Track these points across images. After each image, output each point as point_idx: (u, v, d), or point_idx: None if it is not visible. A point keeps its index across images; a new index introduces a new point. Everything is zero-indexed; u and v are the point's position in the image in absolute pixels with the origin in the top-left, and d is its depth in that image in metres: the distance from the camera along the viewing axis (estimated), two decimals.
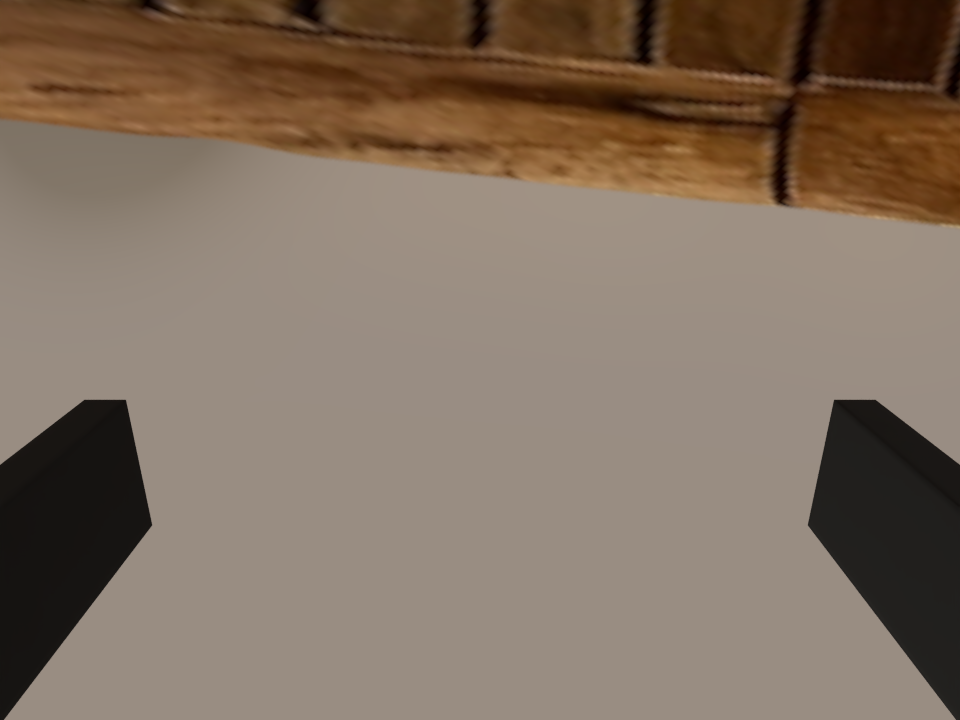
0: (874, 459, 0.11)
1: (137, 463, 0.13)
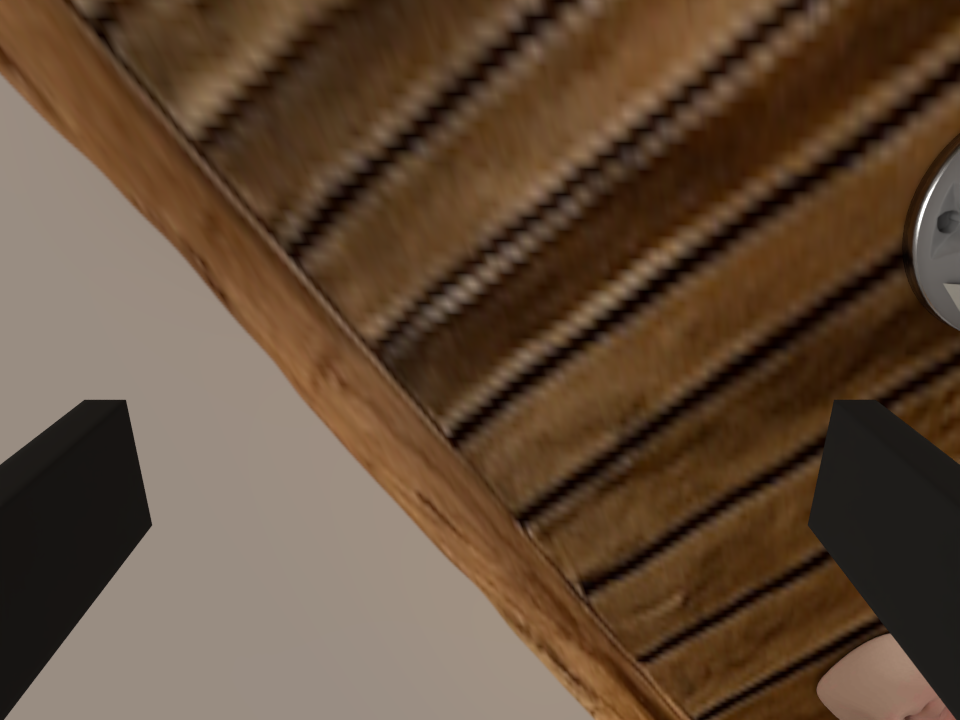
0: (874, 459, 0.11)
1: (136, 463, 0.13)
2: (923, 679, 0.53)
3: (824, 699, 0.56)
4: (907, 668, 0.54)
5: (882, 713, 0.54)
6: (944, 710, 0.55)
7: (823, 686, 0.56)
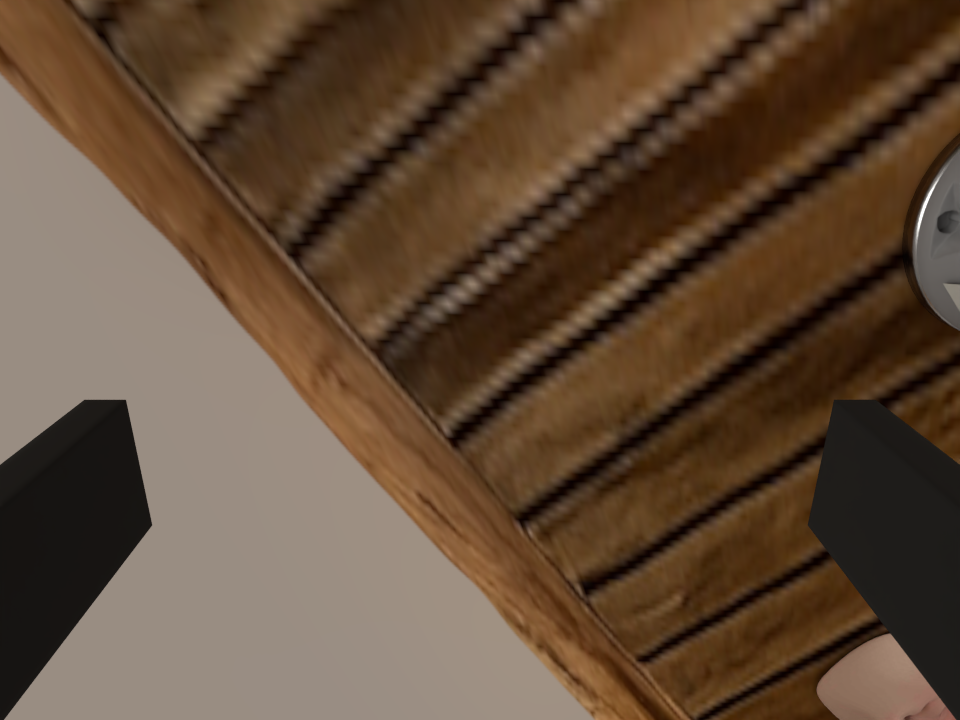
0: (874, 459, 0.11)
1: (136, 463, 0.13)
2: (923, 679, 0.53)
3: (824, 699, 0.56)
4: (907, 668, 0.54)
5: (882, 713, 0.54)
6: (944, 710, 0.55)
7: (823, 686, 0.56)
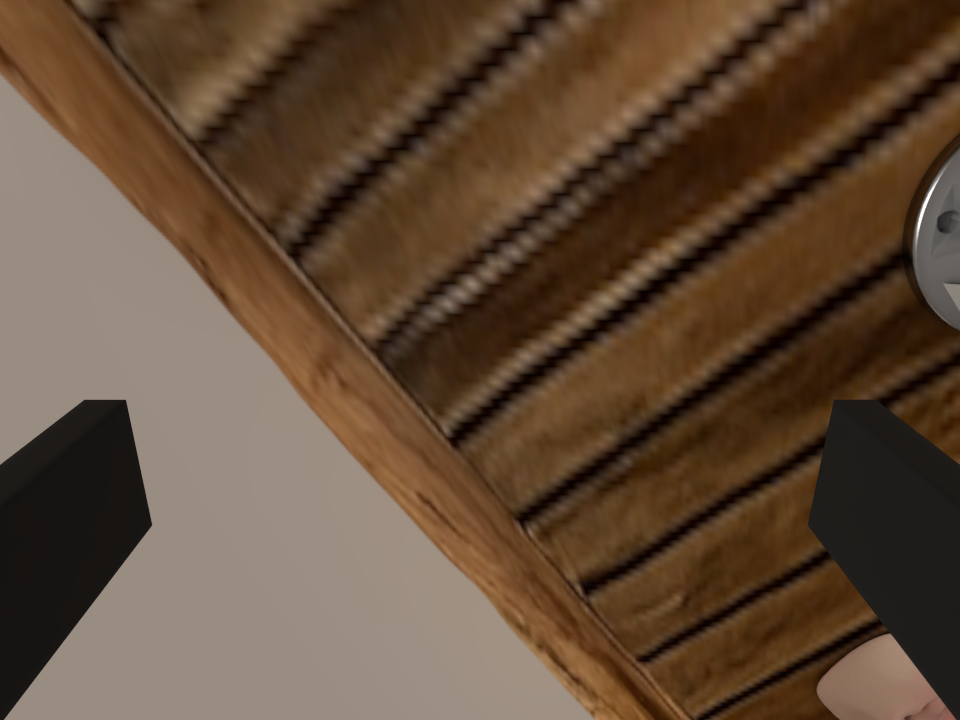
0: (874, 459, 0.11)
1: (136, 463, 0.13)
2: (923, 679, 0.53)
3: (824, 699, 0.56)
4: (907, 668, 0.54)
5: (882, 713, 0.54)
6: (944, 710, 0.55)
7: (823, 686, 0.56)
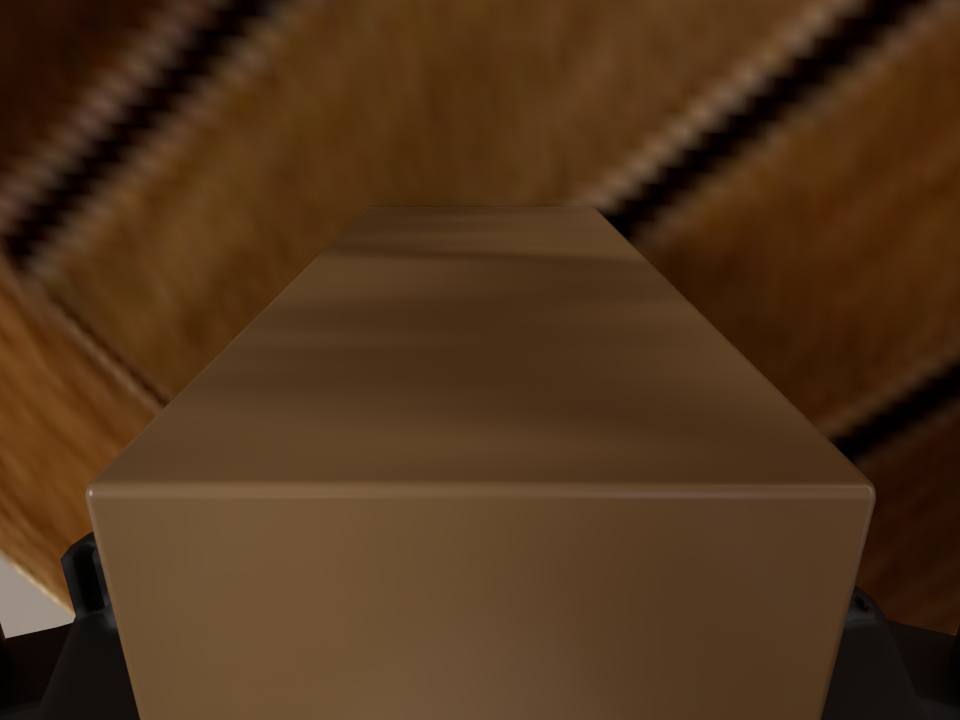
0: None
1: None
2: None
3: None
4: None
5: None
6: None
7: None
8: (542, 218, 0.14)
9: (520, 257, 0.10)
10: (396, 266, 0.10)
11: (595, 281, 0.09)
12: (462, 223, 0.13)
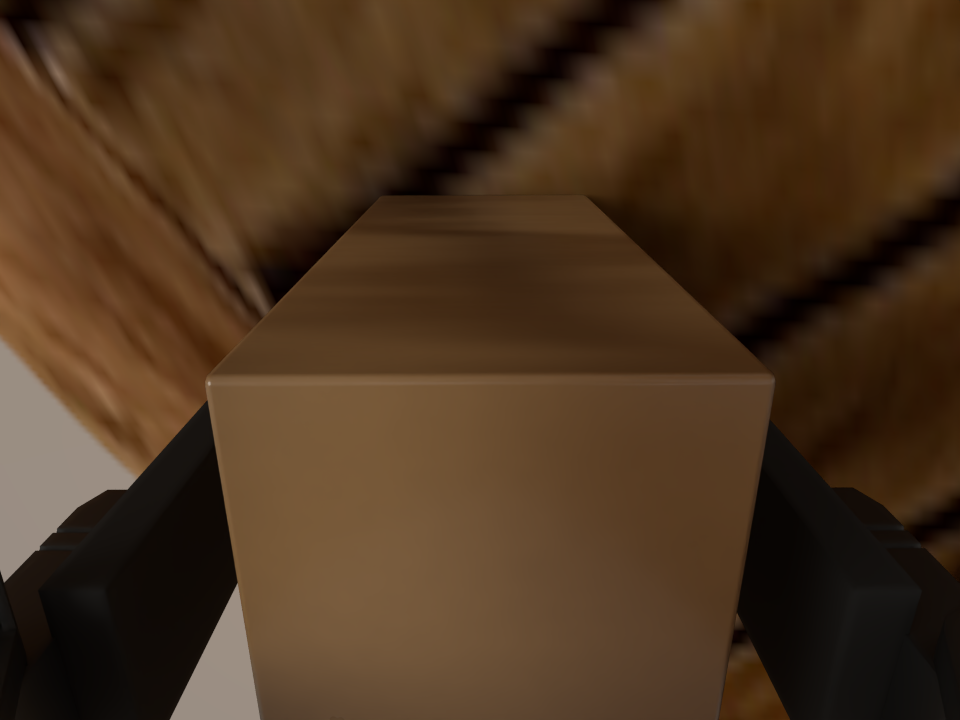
0: None
1: None
2: None
3: None
4: None
5: None
6: None
7: None
8: (538, 204, 0.15)
9: (520, 234, 0.12)
10: (413, 241, 0.11)
11: (582, 251, 0.11)
12: (467, 208, 0.15)
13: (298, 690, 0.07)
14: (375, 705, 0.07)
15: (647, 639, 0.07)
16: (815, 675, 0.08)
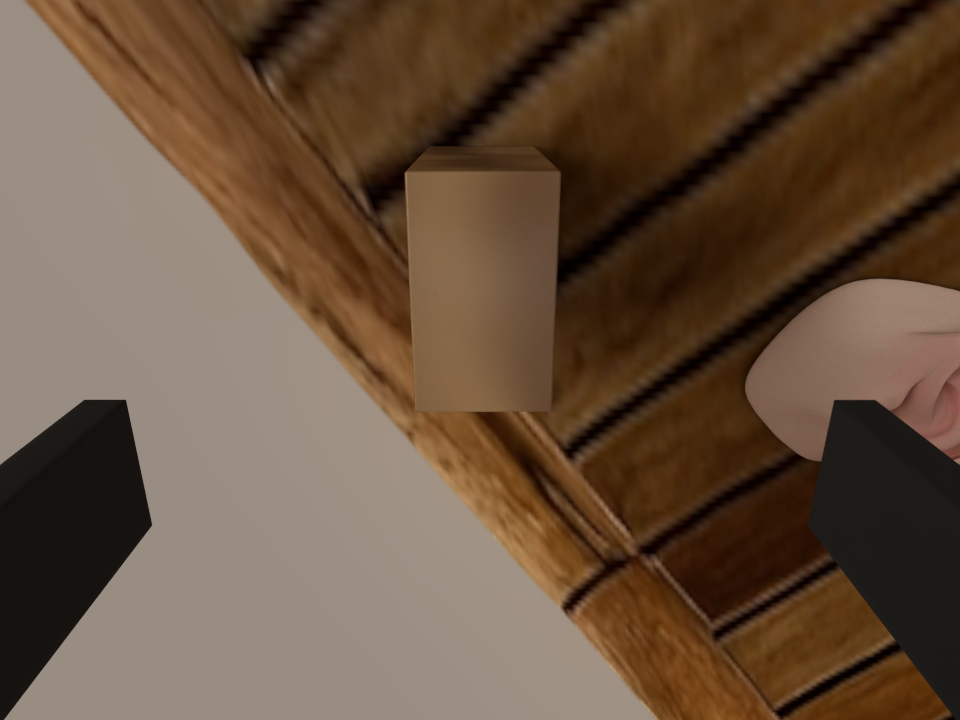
0: (874, 459, 0.11)
1: (136, 463, 0.13)
2: (906, 344, 0.34)
3: (756, 401, 0.37)
4: (882, 331, 0.34)
5: None
6: (940, 407, 0.35)
7: (754, 378, 0.36)
8: (508, 148, 0.31)
9: (497, 154, 0.28)
10: (452, 155, 0.27)
11: (520, 157, 0.27)
12: (474, 149, 0.31)
13: (423, 280, 0.23)
14: (447, 286, 0.23)
15: (530, 260, 0.23)
16: None
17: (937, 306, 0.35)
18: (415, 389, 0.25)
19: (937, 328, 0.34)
